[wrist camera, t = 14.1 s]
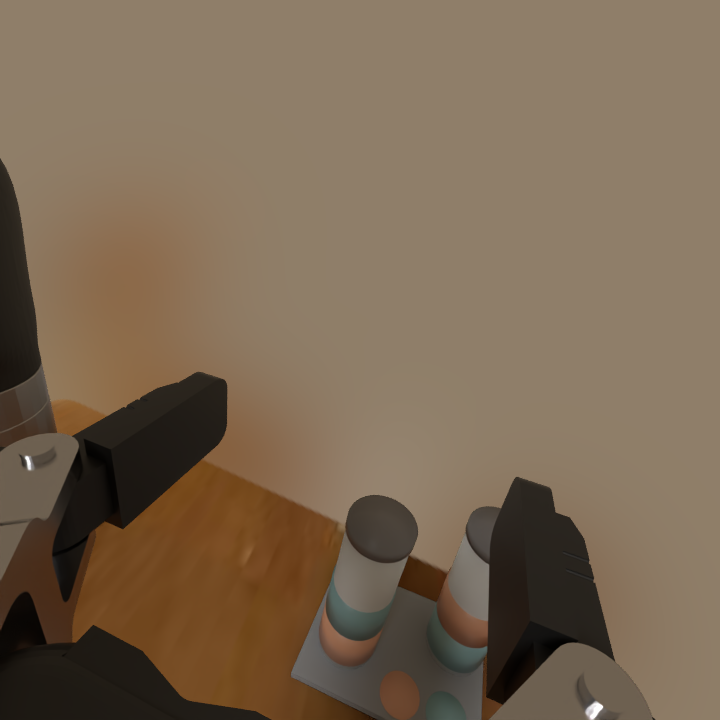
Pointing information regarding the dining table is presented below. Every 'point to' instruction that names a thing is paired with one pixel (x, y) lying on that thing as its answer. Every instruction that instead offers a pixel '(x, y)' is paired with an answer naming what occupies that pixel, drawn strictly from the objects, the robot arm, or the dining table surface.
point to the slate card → (395, 671)
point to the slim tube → (365, 579)
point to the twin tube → (464, 601)
